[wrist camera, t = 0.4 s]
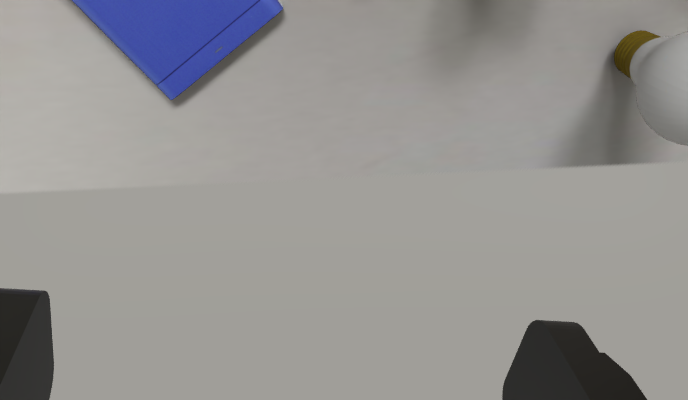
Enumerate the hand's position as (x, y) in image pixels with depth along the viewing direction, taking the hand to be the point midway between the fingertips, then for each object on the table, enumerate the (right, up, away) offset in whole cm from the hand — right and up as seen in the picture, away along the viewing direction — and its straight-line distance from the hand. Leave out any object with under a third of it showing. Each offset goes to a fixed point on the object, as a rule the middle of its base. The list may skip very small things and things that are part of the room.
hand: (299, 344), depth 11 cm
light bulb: (+18, +12, +28) cm, 35 cm away
